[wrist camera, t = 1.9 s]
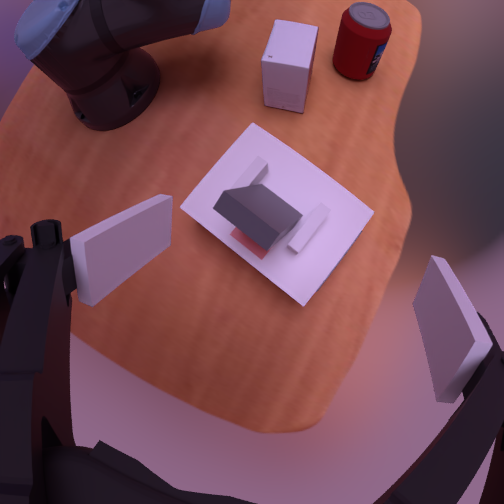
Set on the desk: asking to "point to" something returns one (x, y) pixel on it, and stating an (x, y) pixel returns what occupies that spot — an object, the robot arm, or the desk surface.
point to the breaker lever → (258, 213)
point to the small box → (288, 65)
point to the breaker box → (295, 194)
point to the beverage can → (361, 40)
